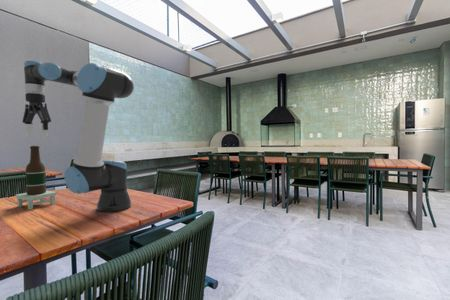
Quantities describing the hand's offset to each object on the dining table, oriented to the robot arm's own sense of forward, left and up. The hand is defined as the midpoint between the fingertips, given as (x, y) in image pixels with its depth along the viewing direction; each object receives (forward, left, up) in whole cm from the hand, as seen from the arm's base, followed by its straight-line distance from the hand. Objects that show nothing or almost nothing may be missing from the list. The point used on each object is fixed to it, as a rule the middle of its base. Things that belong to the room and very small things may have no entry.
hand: (36, 136), depth 115 cm
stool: (0, +1, -35) cm, 35 cm away
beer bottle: (0, +1, -29) cm, 29 cm away
